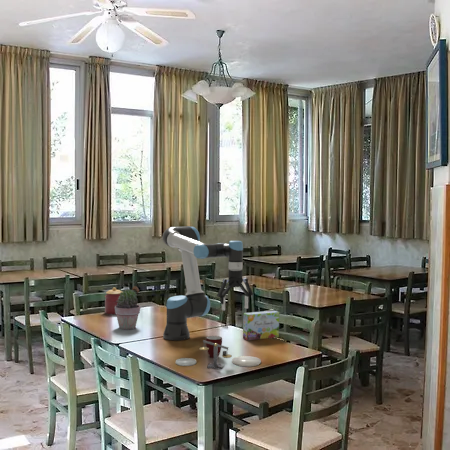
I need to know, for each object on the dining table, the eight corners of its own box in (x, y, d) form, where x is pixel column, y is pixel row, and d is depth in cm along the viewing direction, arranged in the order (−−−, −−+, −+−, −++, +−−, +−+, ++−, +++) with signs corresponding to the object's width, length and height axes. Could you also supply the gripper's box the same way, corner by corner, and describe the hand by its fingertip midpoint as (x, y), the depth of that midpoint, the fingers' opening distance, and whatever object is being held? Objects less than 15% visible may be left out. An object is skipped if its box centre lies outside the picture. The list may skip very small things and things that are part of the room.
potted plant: (104, 329, 346) (105, 288, 345) (122, 323, 364) (122, 284, 363) (130, 332, 339) (131, 290, 338) (147, 326, 357) (147, 286, 356)
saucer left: (173, 365, 275) (173, 363, 274) (177, 359, 284) (177, 357, 284) (194, 366, 273) (194, 364, 273) (197, 360, 283) (197, 358, 283)
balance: (198, 367, 272) (198, 341, 271) (200, 364, 276) (200, 338, 276) (230, 369, 270) (231, 342, 269) (232, 366, 275) (232, 340, 274)
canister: (101, 314, 392) (101, 288, 392) (108, 310, 405) (108, 285, 404) (119, 314, 390) (120, 289, 389) (126, 311, 403) (126, 286, 402)
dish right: (230, 365, 275) (230, 363, 275) (233, 357, 289) (233, 355, 289) (259, 367, 273) (259, 364, 273) (261, 359, 287) (261, 356, 287)
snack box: (247, 341, 324) (247, 314, 323) (242, 338, 329) (243, 312, 328) (279, 337, 334) (279, 311, 333) (274, 335, 339) (274, 309, 338)
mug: (199, 355, 292) (199, 336, 291) (211, 353, 297) (211, 334, 297) (213, 360, 284) (213, 340, 283) (225, 357, 289) (225, 337, 289)
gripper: (217, 271, 298) (216, 312, 299) (259, 269, 308) (258, 308, 309) (211, 269, 305) (210, 309, 306) (253, 268, 315) (252, 306, 316)
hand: (235, 309), depth 307 cm, fingers open, 13 cm apart
